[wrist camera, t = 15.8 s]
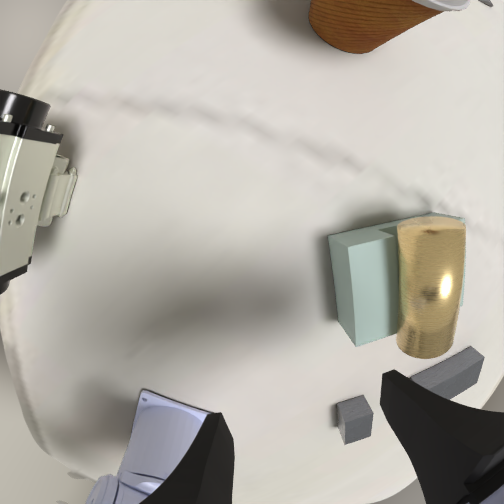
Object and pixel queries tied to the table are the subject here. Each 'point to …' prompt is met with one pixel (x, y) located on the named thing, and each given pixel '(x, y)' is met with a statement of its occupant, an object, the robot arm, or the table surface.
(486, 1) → the half round rod
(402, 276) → the gold rounded piece
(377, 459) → the table surface
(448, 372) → the grey rectangular blocks
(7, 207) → the pneumatic valve
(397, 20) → the disposable coffee cup
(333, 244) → the v block
